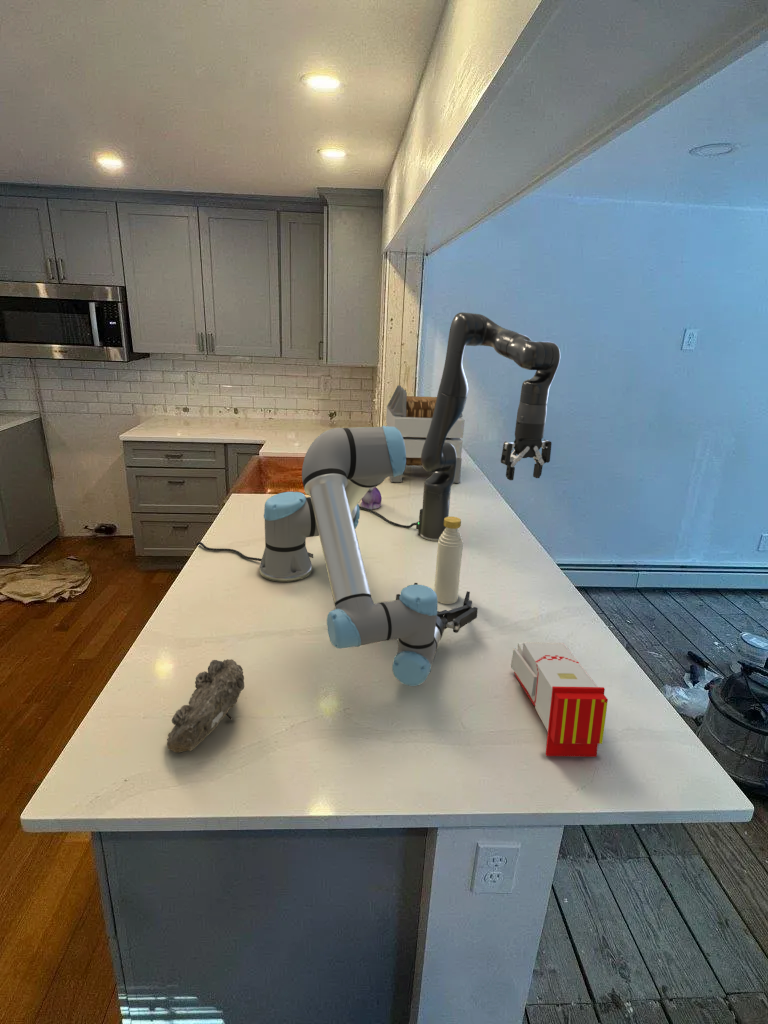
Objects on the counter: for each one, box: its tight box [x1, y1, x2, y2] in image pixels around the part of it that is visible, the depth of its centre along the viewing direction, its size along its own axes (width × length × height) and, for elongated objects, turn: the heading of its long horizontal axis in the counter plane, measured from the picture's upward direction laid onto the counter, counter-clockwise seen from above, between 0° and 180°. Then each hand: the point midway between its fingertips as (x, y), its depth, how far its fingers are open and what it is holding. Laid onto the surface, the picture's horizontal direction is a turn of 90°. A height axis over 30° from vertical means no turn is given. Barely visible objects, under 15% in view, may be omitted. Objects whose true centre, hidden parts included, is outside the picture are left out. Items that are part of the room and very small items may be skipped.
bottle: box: [433, 527, 464, 605], centre depth 153 cm, size 7×7×23 cm
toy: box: [510, 641, 609, 758], centre depth 113 cm, size 12×13×30 cm
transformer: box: [385, 384, 465, 484], centre depth 268 cm, size 34×33×41 cm
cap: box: [444, 516, 462, 529], centre depth 149 cm, size 4×4×2 cm
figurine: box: [360, 486, 383, 510], centre depth 223 cm, size 9×10×15 cm
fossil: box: [166, 658, 245, 754], centre depth 106 cm, size 22×10×15 cm
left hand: (441, 591), depth 146 cm, fingers open, 13 cm apart
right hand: (523, 478), depth 156 cm, fingers open, 8 cm apart
